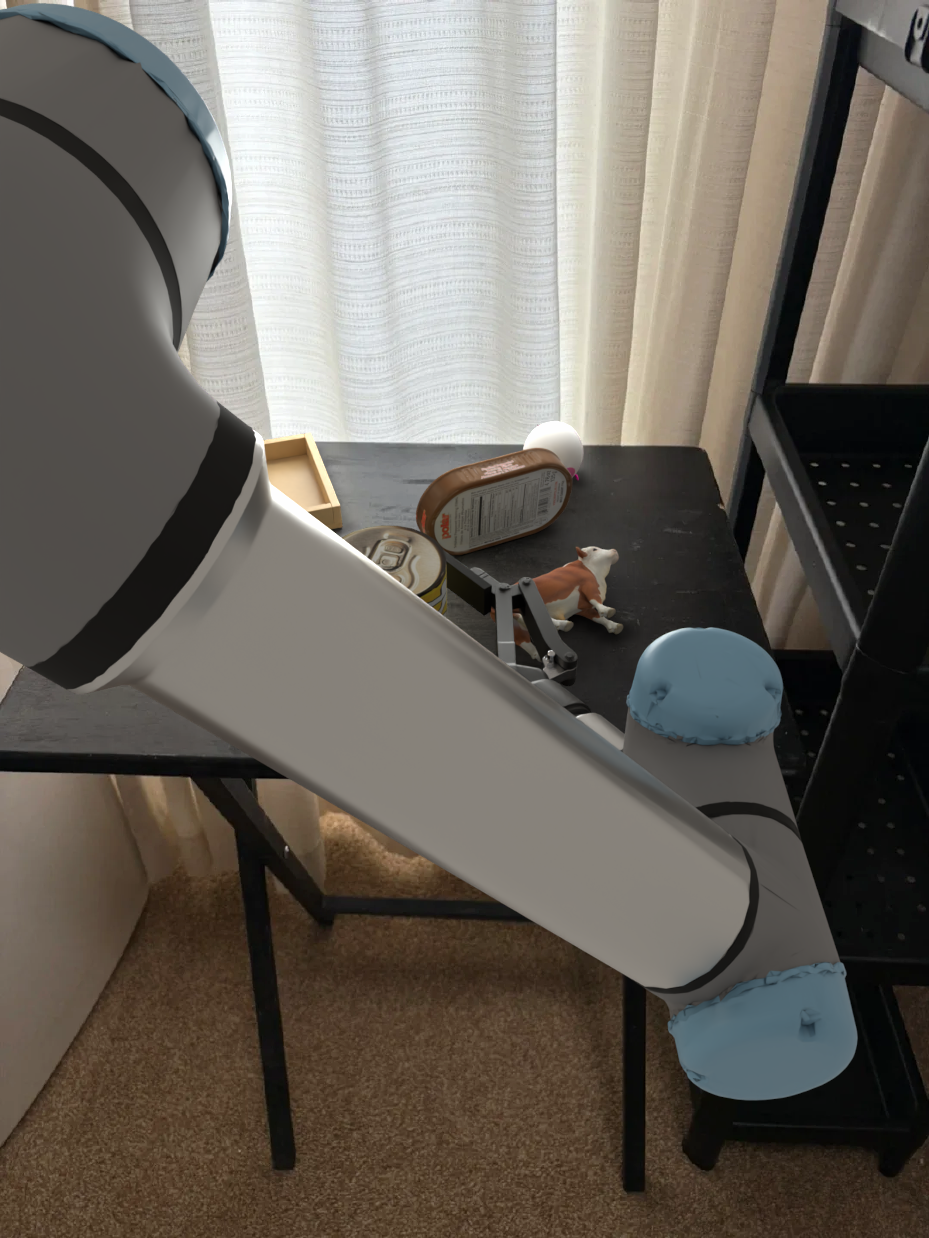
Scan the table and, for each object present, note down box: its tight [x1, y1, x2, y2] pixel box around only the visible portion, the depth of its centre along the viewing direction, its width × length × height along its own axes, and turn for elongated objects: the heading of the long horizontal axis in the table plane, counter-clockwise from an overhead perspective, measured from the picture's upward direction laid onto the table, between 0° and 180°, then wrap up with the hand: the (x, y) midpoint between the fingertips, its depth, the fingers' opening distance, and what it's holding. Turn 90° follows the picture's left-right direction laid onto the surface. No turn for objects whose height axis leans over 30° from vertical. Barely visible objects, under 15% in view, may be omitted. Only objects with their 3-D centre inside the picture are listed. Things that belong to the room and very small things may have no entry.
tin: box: [415, 448, 573, 556], centre depth 95 cm, size 15×3×8 cm, turn 116°
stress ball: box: [522, 420, 584, 481], centre depth 104 cm, size 8×8×7 cm
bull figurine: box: [489, 546, 624, 663], centre depth 88 cm, size 4×13×8 cm
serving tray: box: [263, 432, 343, 530], centre depth 101 cm, size 14×14×2 cm
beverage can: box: [341, 525, 448, 619], centre depth 80 cm, size 9×9×12 cm
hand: (365, 596), depth 81 cm, fingers open, 13 cm apart
